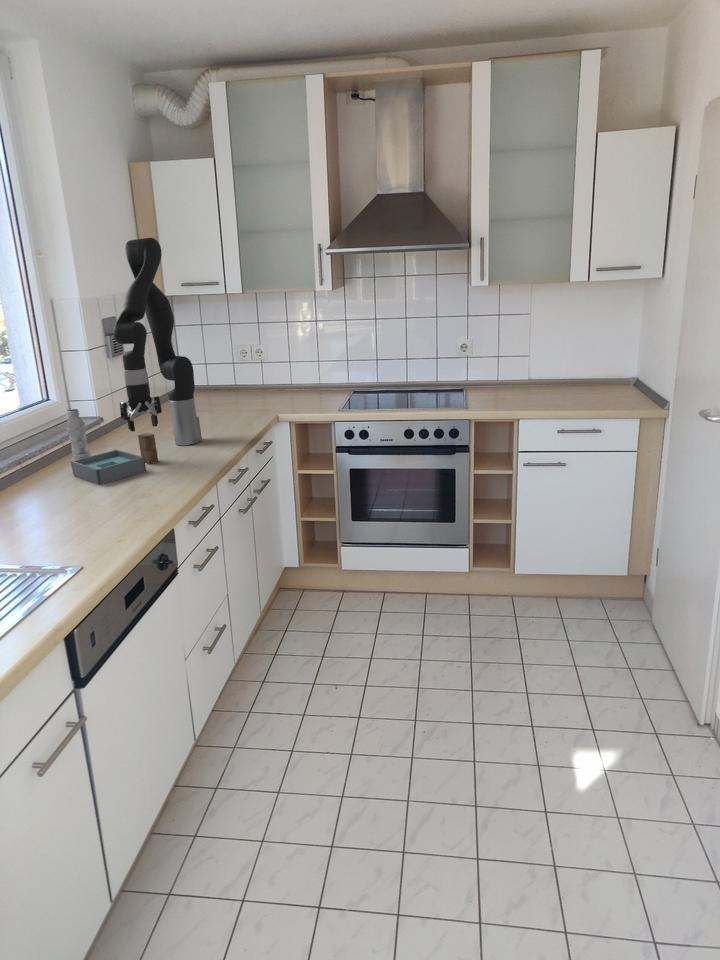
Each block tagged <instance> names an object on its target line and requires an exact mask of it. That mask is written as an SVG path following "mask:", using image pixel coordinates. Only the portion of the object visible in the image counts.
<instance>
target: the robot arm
mask: <svg viewBox="0 0 720 960" xmlns="http://www.w3.org/2000/svg"><path fill="white" fill-rule="evenodd" d="M161 247H162V246H161V245H160V243H159V241H158V240H157V239H156V238H154V237H144V238H138V239H137V238H136V239H131V240H128V241H127V242H126V243H125V247H124V248H125V249H124V251H125V257H126V259H127V263H128V265H129V268H130V271H131V274H132V276H133V278H134V280H133V281H132V283H131V284H130V286H129V287H128V289H127V290H126V293H125V297H124V303H123V309H122V310H121V313H120V314H119V316H118V318H117V320H116V322H115V324H114V326H113V331H112V333H113V339H114V340H115V341H116V343H118V344H120V345H133V347H132V350H129V351H125V352H124V353H122V361H123V368H124V369H123V371H124V381H125V382H124V383H125V388H126V394H127V398H128V400H127V401H119V408H120V409H119V410H120V411H119V412H120V419H121V420H124V421H127V427H128V428H127V429H128V430H129V431H130V432H135V431H136V427H135V420H134V418H135V417H136V415H137V414H138V413H142V412H148V413H149V414H150V418H151V419H150V421H151V425H152V426H153V427H157V426H158V424H159V421H158V415H159V414H161V413H162V412H163V410H162V404H161V400H160V397H159V396H158V395H152V396H151V390H150V381H149V375H148V371H147V367H146V366H147V365H146V359H145V352H146V342H147V336H148V335H147V334H148V333H147V329H146V327H145V325H144V324H143V323H142V322H139V321H141V320H143V319H144V317H145V315H146V319H147V321H148V325H149V328H150V332H151V336H152V340H153V343H154V345H155V346H154V347H155V352H156V356H157V358H156V359H157V361H158V366H159V371H160V373H161V375H162V377H163V378H164V379H166V380H167V381H173V382H174V388H173V389H172V390H171V391H169V392H168V396H167V397H168V402H169V407H170V408H169V410H170V416H171V421H172V429H173V436H174V442H175V445H177V446H191V445H190V444H192V445H195V443H196V444H198V443H200V442H202V441H203V437H202V430H201V423H200V417H199V416H197V410H196V409H197V408H196V403H195V401H196V400H195V394H194V393H195V389H196V388H195V387H196V386H195V384H196V383H195V374H194V367H193V363H192V361H191V360H190V358H189V357H187V356H183V355H176V353H175V349H174V347H173V342H172V336H173V331H174V326H175V317H174V313H173V309H172V306H171V303H170V300H169V299H168V297H167V296H166V295H165V293H164V292H163V291H162V290H161V289H160V288H159V287H158V286H157V285H156V284H155V283H154V280H155V277H156V274H157V271H158V269H159V266H160V263H161V260H162V256H163V254H162V248H161ZM152 403H153V406H152V405H151V404H152ZM128 408H129V409H128ZM199 441H200V442H199Z"/></svg>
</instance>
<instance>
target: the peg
mask: <svg viewBox="0 0 720 960" xmlns="http://www.w3.org/2000/svg"><path fill="white" fill-rule="evenodd" d="M137 437H138V445H139V450H140V456H142V457H144V460H145V463H147V464H146V465H150V464H149V463H152V464H154V463H153V462H155V463H157V462H156V461H158V462H159V456H158V450H157V445H156V438H155V437H156V436H155V434H154V433H152V432H144V433H142V434H138V435H137Z"/></svg>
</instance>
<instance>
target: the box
mask: <svg viewBox="0 0 720 960" xmlns="http://www.w3.org/2000/svg"><path fill="white" fill-rule="evenodd" d="M70 465H71V469H72V476H73V475H74V476H73V477H76V478H78V477H79V479H81V480H84V481H87V482H90V483H92V482H93V484H95V483H96V484H95V485H98V484H99V485H98V486H101V485H103V483H104V484H108V483H111V482H113V481H114V480H115V481H117V479H118V480H121V479H120V478H122V479H125V478H128V477H131V476H130V475H132V476H134V474H135V475H139V474H142V473H145V472H144V471H146V472H147V467H146V464H145V460H144V457H142V456H141V455H139V454H138V455H137V454H135V453H131V452H127V451H125V450H124V451H123V450H120V449H114V450H111V451H110V450H109V451H106V452H102V453H99V454H94V455H91V456H90V457H86V458H82V459H79V460H75V461H72V460H71V461H70ZM141 472H142V473H141ZM138 473H139V474H138ZM127 476H128V477H127ZM124 477H125V478H124ZM110 481H111V482H110ZM115 481H114V482H115ZM107 482H108V483H107ZM100 484H101V485H100Z"/></svg>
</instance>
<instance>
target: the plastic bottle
mask: <svg viewBox="0 0 720 960" xmlns="http://www.w3.org/2000/svg"><path fill="white" fill-rule="evenodd" d="M67 417H68V419H67V420H66V424H65V429H66V431H67V435H68V436H69V441H70V445H71V461H75V460H79V459H82V458H86V457H90V456H92V454H91V451H90V448H89V446H88V445H89V444H88V441H87V440H88V439H87V432H86V430H87V429H86V422H85V421H84V419H83V418H82V417H80V411H79V409H78V408H72V409H68V410H67Z"/></svg>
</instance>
